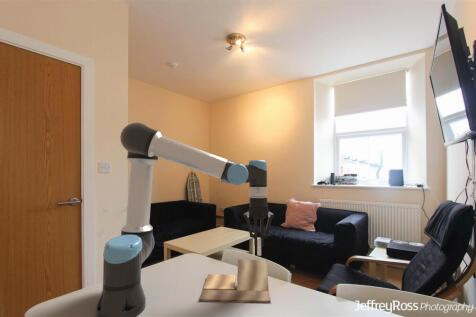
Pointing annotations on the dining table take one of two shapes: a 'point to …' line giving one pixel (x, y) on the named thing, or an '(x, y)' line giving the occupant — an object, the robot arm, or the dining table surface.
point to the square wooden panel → (252, 275)
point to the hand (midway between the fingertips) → (259, 254)
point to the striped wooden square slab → (220, 282)
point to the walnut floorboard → (235, 296)
